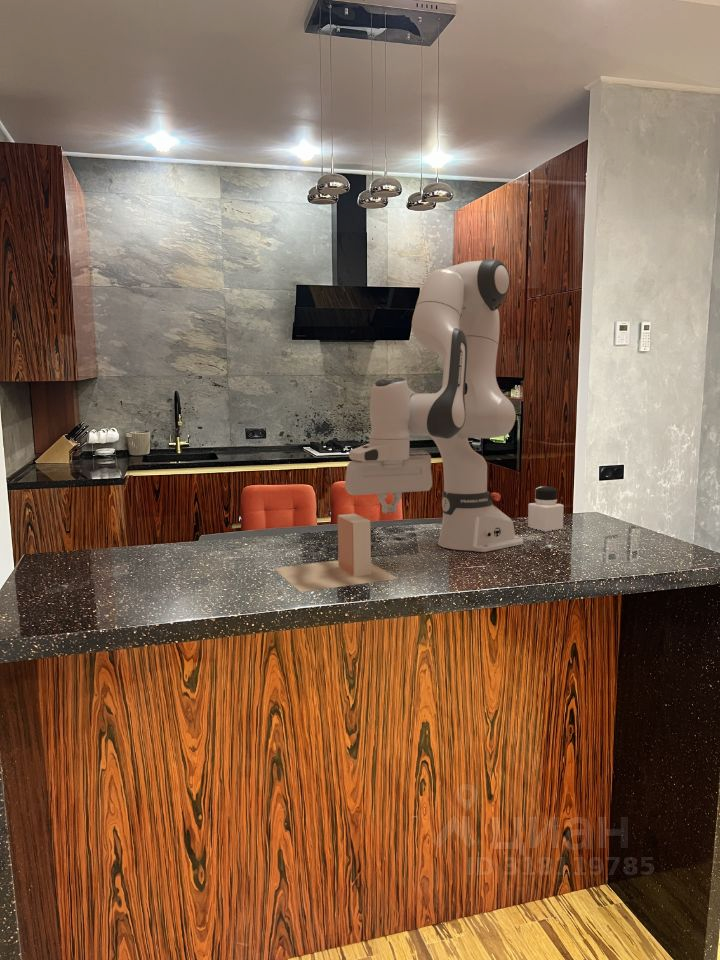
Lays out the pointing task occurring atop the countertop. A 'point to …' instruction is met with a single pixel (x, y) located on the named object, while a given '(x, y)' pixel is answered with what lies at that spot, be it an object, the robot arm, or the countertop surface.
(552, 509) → the medicine bottle
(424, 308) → the robot arm
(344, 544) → the block
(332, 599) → the countertop surface
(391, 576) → the cloth
